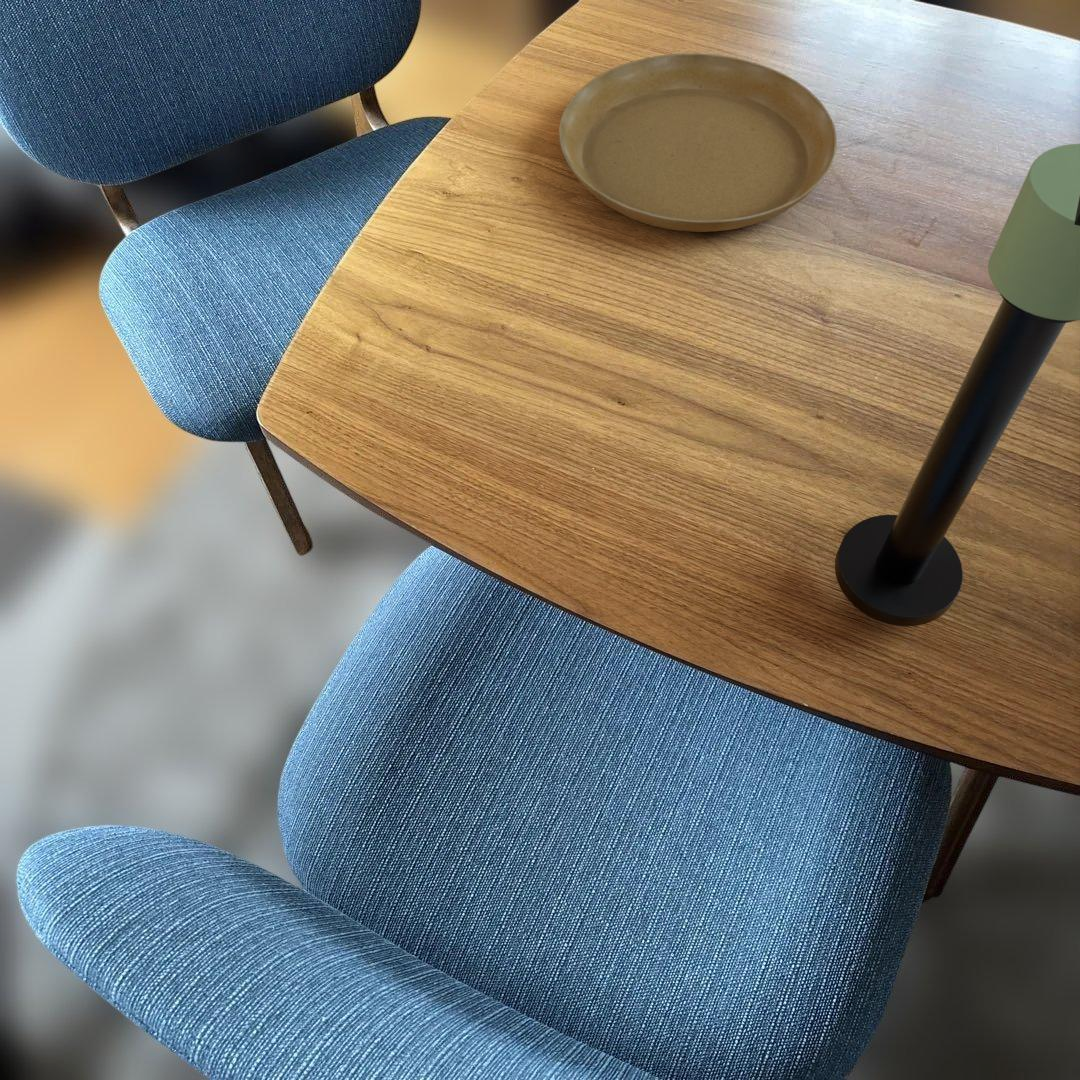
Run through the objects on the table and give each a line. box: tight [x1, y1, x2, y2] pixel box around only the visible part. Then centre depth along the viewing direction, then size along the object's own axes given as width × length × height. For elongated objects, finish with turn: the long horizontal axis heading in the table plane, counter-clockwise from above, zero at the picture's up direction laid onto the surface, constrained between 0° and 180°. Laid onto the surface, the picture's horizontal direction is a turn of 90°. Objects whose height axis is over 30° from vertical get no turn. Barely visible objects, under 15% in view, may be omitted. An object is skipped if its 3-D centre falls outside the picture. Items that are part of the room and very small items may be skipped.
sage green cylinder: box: [987, 143, 1080, 321], centre depth 45 cm, size 6×6×5 cm
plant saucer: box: [558, 52, 838, 233], centre depth 91 cm, size 24×24×3 cm
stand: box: [834, 293, 1077, 627], centre depth 58 cm, size 8×8×26 cm
